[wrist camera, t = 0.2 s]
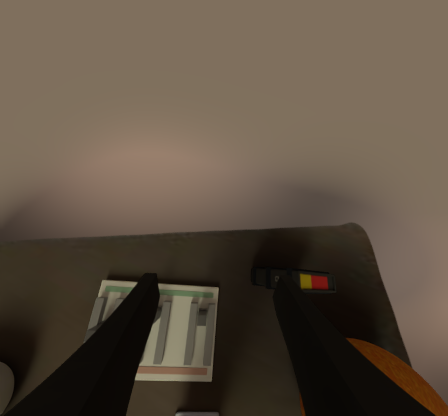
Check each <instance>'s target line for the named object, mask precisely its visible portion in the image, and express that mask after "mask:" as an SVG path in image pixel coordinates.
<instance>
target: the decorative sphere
mask: <svg viewBox="0 0 448 416" xmlns="http://www.w3.org/2000/svg"><path fill="white" fill-rule="evenodd" d="M346 339H347V340H348V341H349V342H350V343H351V344H352V345H353V346H354V347H355V348H357V349H358V350H359V351H360V352H361V353H362V354H363V355H364V356H365V357H366V358H367V359H368V360H369V361H371V362H372V363H373V364H374V365H375V366H376V367H377V368H379V369H380V370H381V371H382V372H383V373H384V374H386V375H387V376H388V377H389V378H390V379H391V380H393V381H394V382H395V383H396V384H397V385H398V386H400V387H401V388H402V389H403V390H404V391H406V392H407V393H408V394H409V395H411V396H412V397H413V398H414V399H416V400H417V401H418V402H419V403H421V404H422V405H423V406H424V407H426V408H427V409H428V410H430V411H431V412H432V413H433V414H435V415H436V416H448V406H447V405H446V403H445V402H444V401H443V400H442V399H441V397H440V396H439V395H438V394H437V393H436V391H435V390H434V389H433V388H432V387H431V386H430V385H429V384H428V383H427V382H426V381H425V380H424V379H423V378H422V377H421V376H420V375H419V374H418V373H417V372H415V371H414V370H413V369H412V368H411V367H410V366H408V365H407V364H406V363H404V362H403V361H402V360H400V359H399V358H398V357H396V356H394V355H393V354H391V353H390V352H388V351H386V350H384V349H382V348H380V347H378V346H376V345H374V344H371V343H369V342H366V341H362V340H358V339H353V338H346ZM300 405H301V412H302V416H305V411H304V407H303V403H302V398H301V394H300Z"/></svg>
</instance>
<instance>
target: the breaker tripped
mask: <svg viewBox="0 0 448 416" xmlns="http://www.w3.org/2000/svg"><path fill="white" fill-rule="evenodd" d="M104 322H105V321H104V320H103V321H101V322H100V323H99V324H98V325H96V326H94V327H92V328H90V329H88V330H87V332H86V336H85V339H84V342H86V341H87V340H88V339H89V338H90V337H91V335H92V334H93V333H94V332H95V331H96V330H97V329H98V328H99V327H100V326H101V325H102V324H103V323H104Z"/></svg>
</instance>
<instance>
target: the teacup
mask: <svg viewBox="0 0 448 416" xmlns="http://www.w3.org/2000/svg"><path fill="white" fill-rule="evenodd" d="M13 390H14V375H13V372H12V370H11V369H10V368H9V367H8V366H7V365H6V364H4V363H2V362H0V416H1V414H2V413H3V412H4V410H5V408H6V407H7V405H8V403H9V401H10V399H11V396H12V394H13Z"/></svg>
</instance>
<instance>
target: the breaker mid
mask: <svg viewBox="0 0 448 416" xmlns="http://www.w3.org/2000/svg"><path fill="white" fill-rule="evenodd" d="M161 311H162V306H158V308H157V313H156V317H155V320H154V323H155V322H156V321H157V320H158V319H159V318H160V317H161ZM154 323H153V324H154Z"/></svg>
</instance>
